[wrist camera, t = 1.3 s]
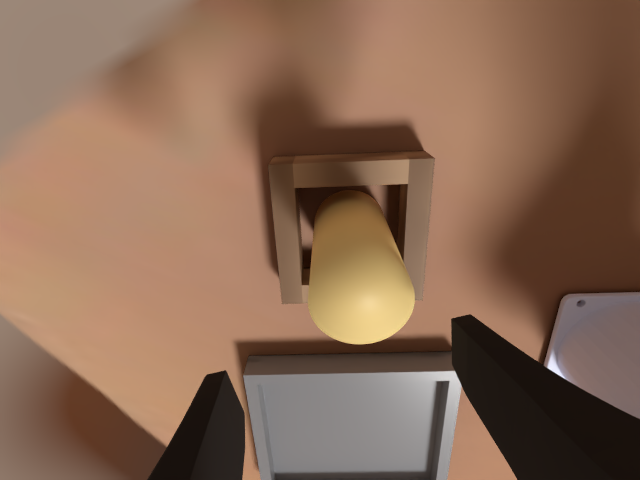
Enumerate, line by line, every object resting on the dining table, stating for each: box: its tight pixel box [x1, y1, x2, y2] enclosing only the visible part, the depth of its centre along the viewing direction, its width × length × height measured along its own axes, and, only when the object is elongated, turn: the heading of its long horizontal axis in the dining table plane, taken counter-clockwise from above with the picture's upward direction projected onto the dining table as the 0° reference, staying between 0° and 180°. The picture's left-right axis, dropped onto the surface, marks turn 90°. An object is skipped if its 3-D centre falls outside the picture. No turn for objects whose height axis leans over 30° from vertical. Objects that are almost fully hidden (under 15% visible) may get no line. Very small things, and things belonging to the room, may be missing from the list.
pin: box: [308, 190, 415, 344], centre depth 17 cm, size 4×4×8 cm
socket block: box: [268, 151, 435, 304], centre depth 20 cm, size 8×8×2 cm
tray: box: [243, 351, 462, 480], centre depth 27 cm, size 14×13×2 cm
